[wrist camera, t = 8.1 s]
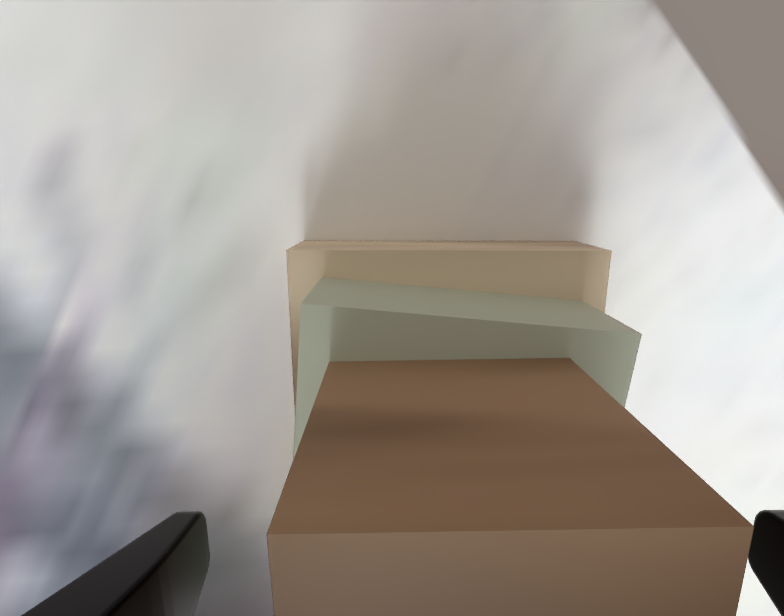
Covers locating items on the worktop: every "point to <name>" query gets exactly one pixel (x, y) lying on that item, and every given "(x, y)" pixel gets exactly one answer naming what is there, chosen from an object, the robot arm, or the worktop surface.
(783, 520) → the robot arm
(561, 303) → the sage top block
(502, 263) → the birch base block
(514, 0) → the worktop surface
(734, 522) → the walnut cube
